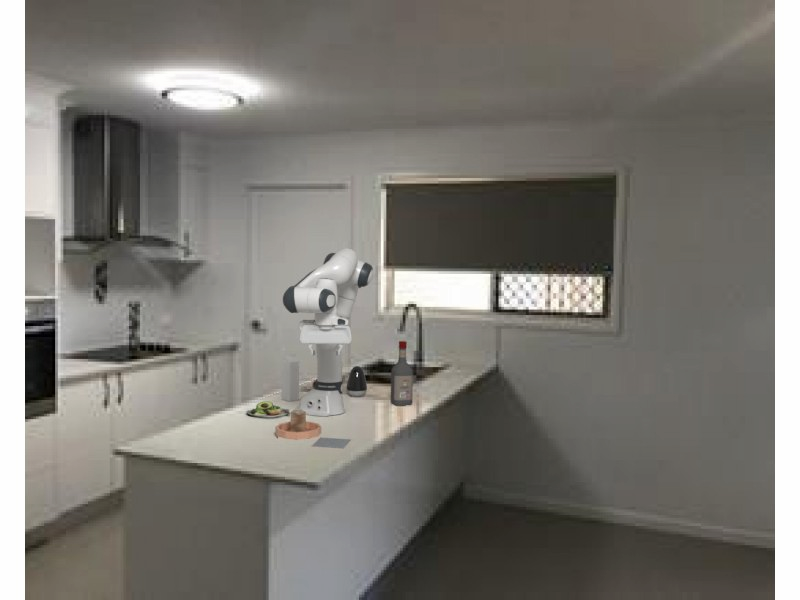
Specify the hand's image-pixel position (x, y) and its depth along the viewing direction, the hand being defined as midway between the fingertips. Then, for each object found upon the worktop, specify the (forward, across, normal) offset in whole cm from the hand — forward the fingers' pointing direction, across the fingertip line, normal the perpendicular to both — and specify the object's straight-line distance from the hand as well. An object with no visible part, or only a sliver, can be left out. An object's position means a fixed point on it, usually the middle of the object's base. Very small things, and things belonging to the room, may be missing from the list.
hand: (325, 355), depth 257 cm
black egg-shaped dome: (+31, +16, +70) cm, 79 cm away
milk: (+31, -16, +63) cm, 72 cm away
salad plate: (+32, -25, +34) cm, 53 cm away
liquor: (+31, +37, +52) cm, 71 cm away
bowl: (+31, -10, -2) cm, 33 cm away
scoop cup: (+30, -10, -2) cm, 32 cm away
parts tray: (+31, +2, -16) cm, 35 cm away
